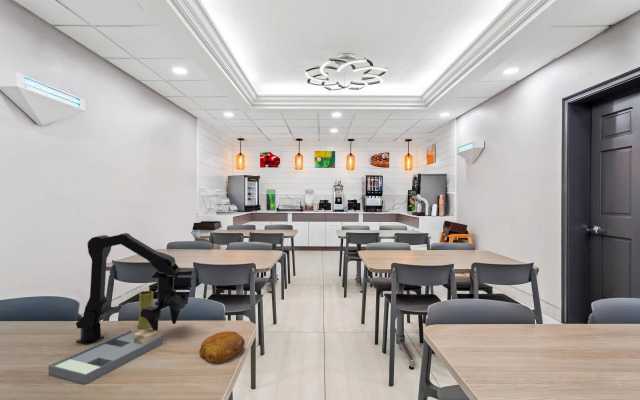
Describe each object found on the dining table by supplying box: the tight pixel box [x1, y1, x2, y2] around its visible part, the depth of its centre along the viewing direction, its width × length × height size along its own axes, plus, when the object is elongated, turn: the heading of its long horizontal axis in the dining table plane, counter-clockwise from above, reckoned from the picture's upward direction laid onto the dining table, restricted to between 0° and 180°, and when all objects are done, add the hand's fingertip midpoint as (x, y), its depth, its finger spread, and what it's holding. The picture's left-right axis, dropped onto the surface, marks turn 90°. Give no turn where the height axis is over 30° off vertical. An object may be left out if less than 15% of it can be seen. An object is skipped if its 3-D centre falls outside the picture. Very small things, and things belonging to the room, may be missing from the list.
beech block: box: [134, 328, 159, 345], centre depth 119 cm, size 6×6×3 cm
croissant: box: [198, 330, 245, 364], centre depth 115 cm, size 14×16×8 cm
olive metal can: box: [137, 290, 154, 330], centre depth 138 cm, size 6×6×14 cm
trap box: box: [48, 330, 163, 385], centre depth 111 cm, size 16×28×3 cm, turn 161°
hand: (165, 328), depth 128 cm, fingers open, 9 cm apart
